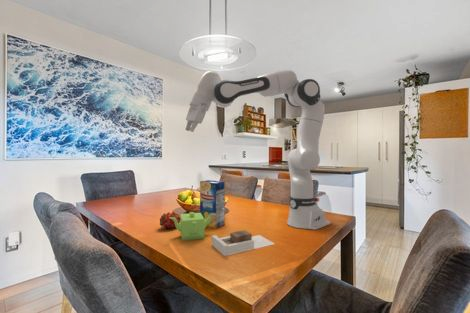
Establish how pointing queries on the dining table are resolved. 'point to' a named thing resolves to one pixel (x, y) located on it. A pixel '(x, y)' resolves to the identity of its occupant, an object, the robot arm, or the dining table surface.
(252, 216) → the dining table surface
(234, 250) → the shallow white tray
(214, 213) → the beverage box
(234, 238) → the block
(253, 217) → the dining table surface
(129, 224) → the dining table surface
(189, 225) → the kettle
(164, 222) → the dark red lumpy cluster
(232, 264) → the dining table surface
